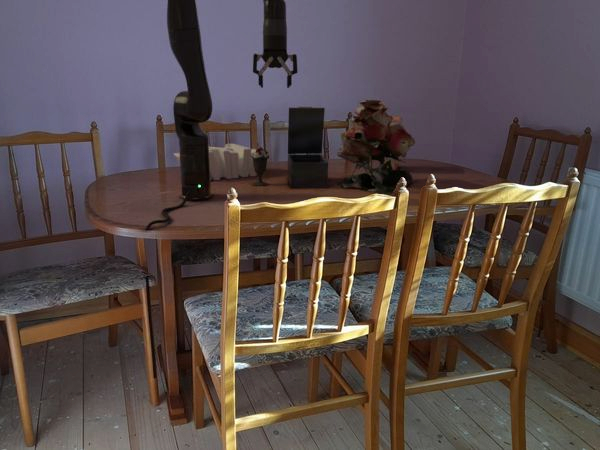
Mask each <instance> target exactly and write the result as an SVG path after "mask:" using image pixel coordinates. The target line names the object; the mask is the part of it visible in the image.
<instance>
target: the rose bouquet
mask: <svg viewBox="0 0 600 450" xmlns="http://www.w3.org/2000/svg"><path fill="white" fill-rule="evenodd" d="M359 105H360V106H361V107H357V108H356V109H355V110H354V114H356V115H354V116H351V118H350V119H351V122H352V124H353V126H351V127H350V128H349V129H346V131H345V132H342V133H341V134H340V138H341V139H340V141H341V143H340V144H341V147H342V148H338V150H339V151H338V152H337V153H336V156H337V157H339V158H341V159H344V160H346V161H348V162H351V163H352V164H355V166H354V169H353V171H352V174H351V176H349V177H347V179H346V181H344V182H341V183H339V184H340V185H341V186H343V189H349V188H356V189H358V190H359V189H360V190H363V191H369V192H373V193H375V194H379V193H381V194H384V195H391V194H393V193H392V192H393V191H394V190H395V188H396V185H397V183H398V182H399V180H400V178H401V177H404V178H405V179H406V181H407V186H409V185H410V184H411V183H412V182H413V175H412V174H411V172H410V171H409V172H408V170H405V169H403V168H397V169H396V170H393V168H392V166H391V159H390V160H389V161H387V162H386V163H384V162H385V159H384V157H388V158H392V159H394V160H396V161H398V163H405V164H406V163H407V162H406V161H404V160H401V159H400V158H401V157H402V158H403V159H405V158H406V157H407V156H408V151H410V149H411V147H412V146H414V145H415V144H416V139H415V138H414V137H413V136H412V134H410V133H409V132H408V131H407V129H406V128H405V126H404V125H403V124H400V123H398V122H391V121H392V119H393V117H394V116H392V115H389V114H388V112H387V110H389V107H388V106H387V105H385V104H383V103H382V100H381V99H376V98H375V99H374V98H373V99H364V100H363V101H360V102H359ZM398 157H399V159H398ZM373 161H378V162H379V165H378V166H377V167H376V168H375V167H374V168H373ZM387 166H388V168H387ZM361 168H363V170H364V171H365V172H359V173H357V174H356V175H354V173H355V172H356V171H357V170H358V171H359V170H360V169H361ZM371 186H373V187H375V188H371V189H368V188H367V187H371ZM381 194H380V195H381Z"/></svg>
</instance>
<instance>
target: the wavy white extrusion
mask: <svg viewBox="0 0 600 450" xmlns="http://www.w3.org/2000/svg"><path fill="white" fill-rule="evenodd" d="M256 149H257V148H250V147H247V146H243V145H241V144H236V143H226V144H224V147H218V146H209V164H210V182H211V181H212V180H213V181H221V178H224V179H226V180H232V179H239V177H241V178H247V177H258V176H259V175H258V174H257V173H256V172H255V171H254V165H253V159H252V157H251V156H253V154H254V153H255V152H256ZM173 156H174V157H175V158H176V160H177V161H178V163H179V164H180V152H174V153H173Z"/></svg>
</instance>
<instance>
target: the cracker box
mask: <svg viewBox="0 0 600 450" xmlns="http://www.w3.org/2000/svg"><path fill="white" fill-rule="evenodd" d="M392 117H393V119H392V121H391V122H398V123H400V124H401V125H403V124H402V123H403V117H402V116H392ZM384 159H385V162H384V163H386V162H387V161H389V160H390V159H391V166H392V168H393V170H396V169H398V168H399V161H396V160H394V159H392V158H388V157H384ZM398 159H399V160H400V157H398ZM387 168H388V166H387Z"/></svg>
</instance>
